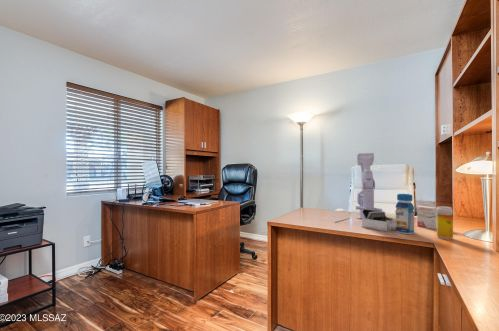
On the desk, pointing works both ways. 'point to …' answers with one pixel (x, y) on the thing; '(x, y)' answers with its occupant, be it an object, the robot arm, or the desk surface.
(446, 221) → the white lidded yellow container
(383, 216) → the electrical switch
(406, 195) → the blue pill bottle
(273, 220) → the desk surface
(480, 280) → the desk surface
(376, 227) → the bracket
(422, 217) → the ink cartridge box
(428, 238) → the desk surface
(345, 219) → the long thin gray rod
